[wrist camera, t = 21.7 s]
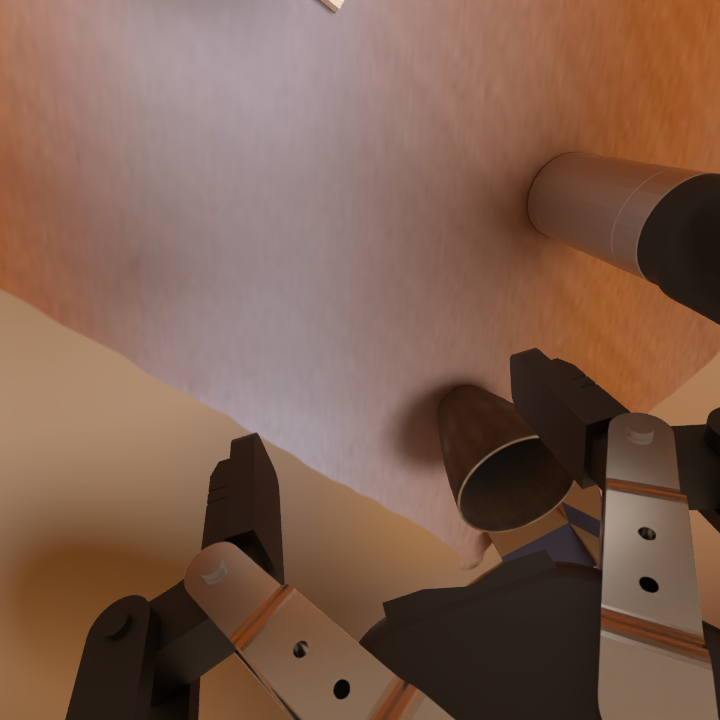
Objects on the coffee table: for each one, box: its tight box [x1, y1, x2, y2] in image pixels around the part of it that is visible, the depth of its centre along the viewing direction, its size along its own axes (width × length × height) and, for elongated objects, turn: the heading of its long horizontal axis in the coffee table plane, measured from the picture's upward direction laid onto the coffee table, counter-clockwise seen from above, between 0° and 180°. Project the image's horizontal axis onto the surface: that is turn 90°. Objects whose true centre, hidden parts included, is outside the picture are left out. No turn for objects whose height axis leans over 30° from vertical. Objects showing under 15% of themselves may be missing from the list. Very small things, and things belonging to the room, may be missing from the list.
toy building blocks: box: [487, 482, 602, 568], centre depth 68 cm, size 12×19×25 cm, turn 118°
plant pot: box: [438, 386, 576, 533], centre depth 58 cm, size 15×15×16 cm
